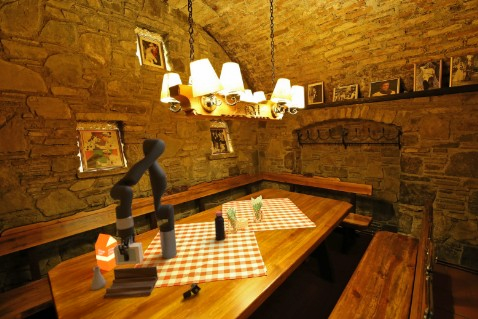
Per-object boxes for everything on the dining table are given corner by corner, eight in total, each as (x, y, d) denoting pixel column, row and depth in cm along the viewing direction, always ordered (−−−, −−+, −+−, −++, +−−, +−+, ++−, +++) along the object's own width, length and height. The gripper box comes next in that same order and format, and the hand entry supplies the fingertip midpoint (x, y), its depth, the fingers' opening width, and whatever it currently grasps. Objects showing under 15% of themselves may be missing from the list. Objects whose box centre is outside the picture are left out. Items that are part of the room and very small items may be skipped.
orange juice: (108, 271, 132) (104, 238, 129) (97, 268, 135) (93, 236, 132) (120, 263, 139) (116, 232, 137) (109, 261, 142) (105, 230, 140)
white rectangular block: (115, 265, 112) (113, 248, 111) (119, 260, 116) (117, 244, 115) (140, 263, 112) (138, 246, 111) (143, 259, 117) (141, 242, 116)
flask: (89, 292, 115) (86, 273, 113) (92, 283, 121) (89, 266, 120) (105, 287, 118) (103, 269, 116) (107, 279, 124) (105, 262, 123)
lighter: (188, 303, 107) (182, 297, 105) (187, 301, 109) (180, 295, 107) (201, 289, 110) (195, 283, 108) (200, 287, 111) (193, 281, 109)
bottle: (216, 236, 169) (214, 210, 166) (225, 236, 169) (224, 210, 166) (215, 240, 162) (213, 213, 159) (224, 240, 162) (223, 213, 159)
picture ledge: (116, 282, 122) (114, 268, 121) (157, 279, 122) (156, 266, 122) (104, 298, 110) (102, 284, 109) (150, 294, 111) (148, 280, 110)
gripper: (126, 231, 105) (130, 265, 107) (138, 219, 119) (142, 250, 121) (110, 232, 105) (114, 267, 107) (124, 220, 119) (127, 251, 121)
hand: (129, 257), depth 114 cm, fingers closed on white rectangular block, 4 cm apart
